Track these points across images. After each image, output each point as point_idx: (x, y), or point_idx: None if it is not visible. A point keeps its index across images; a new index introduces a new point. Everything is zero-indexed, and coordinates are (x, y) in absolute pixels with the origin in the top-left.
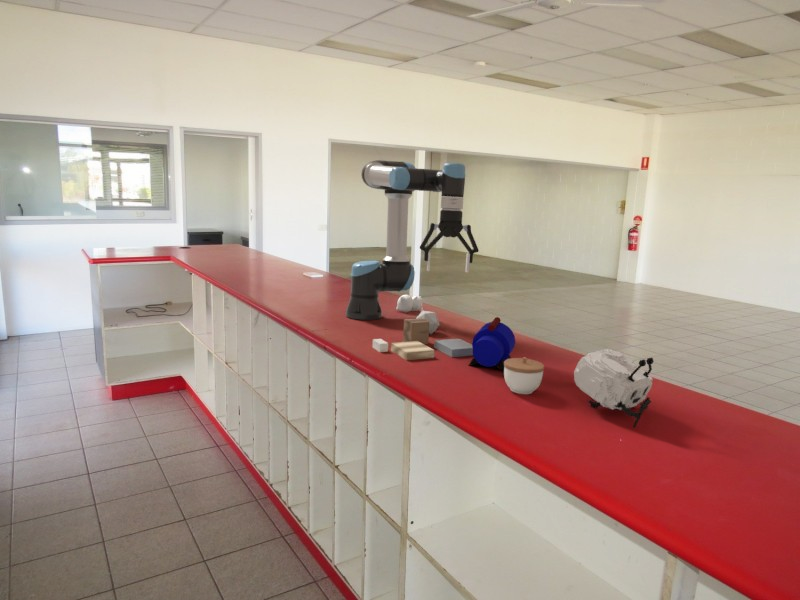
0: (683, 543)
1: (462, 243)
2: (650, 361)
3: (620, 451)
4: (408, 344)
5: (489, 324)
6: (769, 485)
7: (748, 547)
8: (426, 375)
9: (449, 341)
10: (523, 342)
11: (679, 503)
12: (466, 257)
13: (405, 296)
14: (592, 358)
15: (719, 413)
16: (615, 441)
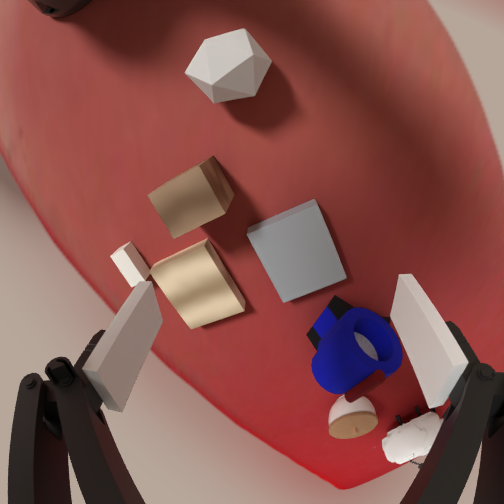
0: (334, 484)
1: (431, 467)
2: None
3: (362, 455)
4: (186, 278)
5: (358, 376)
6: None
7: (357, 482)
8: (231, 375)
9: (286, 238)
10: (471, 155)
11: (354, 474)
12: (436, 348)
13: None
14: (399, 459)
15: None
16: (369, 449)
